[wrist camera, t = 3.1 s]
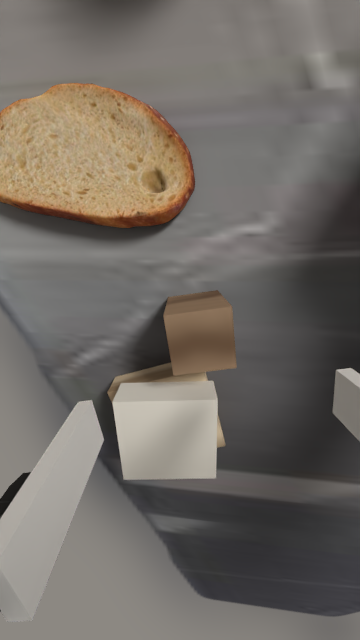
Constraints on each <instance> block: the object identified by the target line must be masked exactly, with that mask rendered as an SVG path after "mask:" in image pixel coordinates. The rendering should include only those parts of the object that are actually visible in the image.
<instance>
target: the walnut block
mask: <svg viewBox="0 0 360 640" xmlns="http://www.w3.org/2000/svg"><path fill="white" fill-rule="evenodd" d="M163 317H164V323H165V329H166V335H167V340H168V346H169V352H170V358H171V364H172V370H173V375H182V374H190V373H198V372H207V371H215V370H223V369H231V368H236V354H235V340H234V327H233V313H232V306H231V305H230V304H229V303H228V301H227V300H226V299H225V298H224V297H223V296H222V295H221V294H220V293H219V291H218V290H216V291H209V292H202V293H195V294H188V295H181V296H173V297H168V300H167V304H166V308H165V311H164V315H163Z"/></svg>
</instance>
